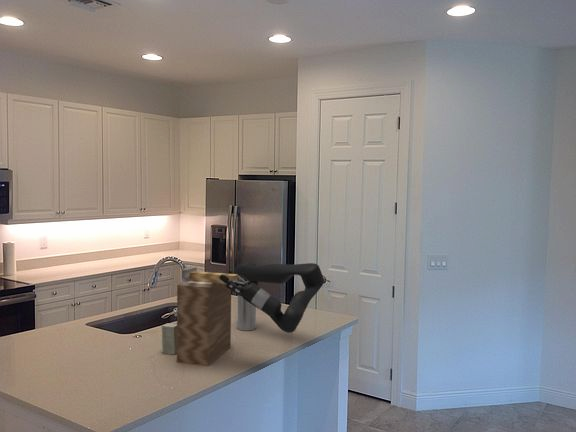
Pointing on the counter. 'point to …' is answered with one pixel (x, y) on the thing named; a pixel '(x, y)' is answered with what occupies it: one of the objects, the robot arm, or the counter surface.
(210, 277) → the wood block with plate
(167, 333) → the skincare box
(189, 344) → the zigzag wood block
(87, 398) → the counter surface
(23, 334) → the counter surface
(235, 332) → the counter surface
